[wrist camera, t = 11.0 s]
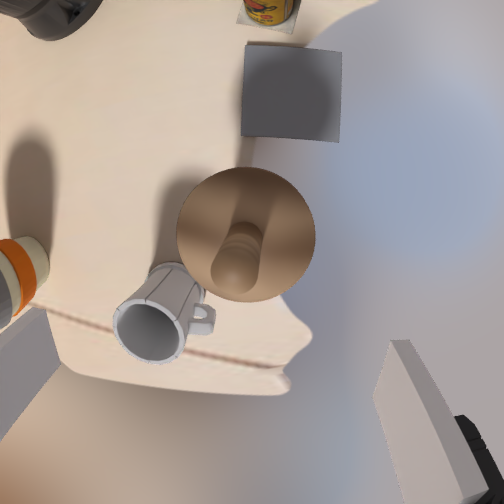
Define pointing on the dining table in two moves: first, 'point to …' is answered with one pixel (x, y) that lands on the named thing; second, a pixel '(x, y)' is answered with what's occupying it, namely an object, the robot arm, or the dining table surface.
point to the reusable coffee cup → (20, 274)
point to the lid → (245, 234)
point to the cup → (163, 315)
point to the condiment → (269, 14)
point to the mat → (291, 93)
